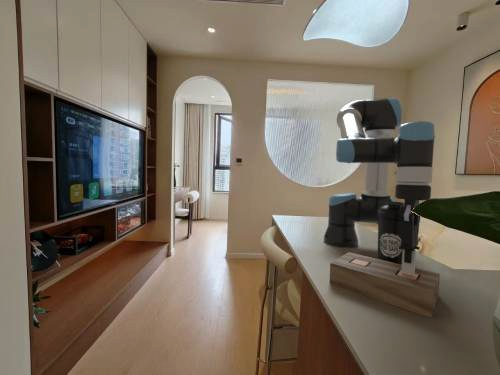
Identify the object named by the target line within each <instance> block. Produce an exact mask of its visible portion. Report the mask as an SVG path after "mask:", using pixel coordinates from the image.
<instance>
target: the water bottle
mask: <svg viewBox="0 0 500 375" xmlns="http://www.w3.org/2000/svg"><path fill="white" fill-rule="evenodd" d="M385 204H386V205H384V206H382V207H381V208H380V209H379V210H378V211H377V216H378V224H377V226H378V227H377V259H379V260H384V261H388V262H392V263H396V264H401V265H402V251H403V249H399V246H401V216H400V214H401V207H402V206H404V201H395V202H391V203H385Z"/></svg>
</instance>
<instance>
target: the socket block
mask: <svg viewBox="0 0 500 375" xmlns="http://www.w3.org/2000/svg"><path fill="white" fill-rule="evenodd" d="M355 259H358V260H362V261H366V262H369V265H368V266H367V267H364V266H360V265H357V264H353V263H351V262H352V261H353V260H355ZM401 269H402V265H401V264H396V263H392V262H388V261H384V260H379V259H378V258H374V257H370V256H367V255H362V254H358V253H353V252H349V251H348V252H347V253H345V254H343V255H342V256H340V257H338V258H336V259H334V260H333V261H331V262H330V263H329V284H331V285H334V286H337V287H340V288H344V289H346V290H348V291H352V292H355V293H358V294H361V295H364V296H366V297H370V298H372V299H376V300H378V301H380V302H384V303H387V304H390V305H391V306H396V307H398V308H401V309H405V310H408V311H410V312H413V313H415V314H419V315H421V316H425V317H428V318H430V319H432V317H433V315H434V311H435V308H436V305H437V302H438V298H439V293H440V292H439V290H440V279H441V278H440V277H441V276H440V275H441V273H437V272H434V271H429V270H425V269H421V268H417V267H415V274H418V281H417V280H413V279H409V278H405V277H402V276H398V275H397V274H398V273H399V272H400V270H401Z"/></svg>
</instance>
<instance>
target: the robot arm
mask: <svg viewBox="0 0 500 375" xmlns="http://www.w3.org/2000/svg"><path fill="white" fill-rule="evenodd" d="M402 117H403V110H402V105H401V102H400V101H399V99H398V98H394V97H391V98H390V97H385V98H384V97H383V98H372V99H358V100H354V101H352V102H350V103H348V104H346V105H344V106H343V107H342V108H341V109H340V110H339V112H338V114H337V116H336V124H337V126H338V128H339V129H340V137H341V138H339V139H338V140H337V141H336V152H335V154H336V155H335V158H336V161H337V162H338V163H345V164H346V163H347V164H363V163H365V164H366V168H365V169H366V170H365V171H366V172H365V187H364V189H363V191H361V194H360V196H357V194H356V193H354V192H352V193H349V192H348V193H346V192H345V193H338V194H332V195H330V196H329V199H328V200H329V201H328V218H327V219H328V221H327V226H326V227H327V228H326V230H325V232H324V235H323V242H324V243H325V242H326V243H325V244H327V243H328V245H330V246H332V247H333V246H334V247H340V248H355V247H357V246H358V245H359V238H358V234H357V231H356V226H355V225H356V222H357V223H365V224H366V223H368V224H377V225H378V216H377V211H378V210H379V209H380V208H381V207H382V206H384V205H386V204H385V203H391V202H396V201H395V199H398V200H404V201H403V203H404V206H402V207H401V214H400V216H401V246H399V249H403V251H402V269H401V273H403V274H407V275H410V276H414V275H415V268H416V258H417V257H416V256H417V251H419V250H420V249H421V248H420V246H418V244H419V242H418V241H419V234H420V233H419V230H420V223H421V215H420V216H418V215H416V214H415V213H412V212H411V211H412V210H413V208H414V207H415V206H416V205H418V204H419V205H420V201H429V199H431V198H432V196H431V195H432V186H431V185H429V184H431V183H432V181H433V162H434V146H435V139H436V134H435V124H434V123H433V122H431V121H424V120H423V121H422V120H421V121H412V122H406V123H403V124H401V123H402V119H403V118H402ZM396 127H399V128H398V133H397V137H396V136H395V137H392V134H394V132H396ZM366 135H367V137H366ZM390 164H396V170H394V171H393V174H394V175H396V176H395V177H396V178H395V180H396V182H397V183H398V184H396V185H395V192H394V194H395V195H394V197H395V198H392V197H391V193H390V192H389V191H388V181H389V167H390V166H389V165H390Z"/></svg>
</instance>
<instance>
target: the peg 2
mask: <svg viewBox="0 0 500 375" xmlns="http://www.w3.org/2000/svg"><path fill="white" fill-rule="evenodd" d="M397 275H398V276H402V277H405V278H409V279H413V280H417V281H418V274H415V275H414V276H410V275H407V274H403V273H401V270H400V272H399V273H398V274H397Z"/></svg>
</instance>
